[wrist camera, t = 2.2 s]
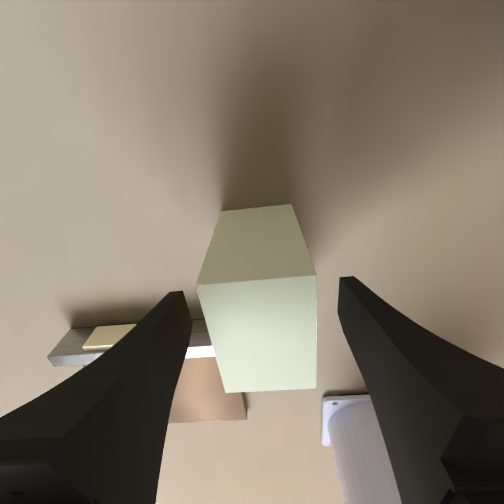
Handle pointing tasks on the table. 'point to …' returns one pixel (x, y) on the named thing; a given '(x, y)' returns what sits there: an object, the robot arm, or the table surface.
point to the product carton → (260, 300)
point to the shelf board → (190, 380)
